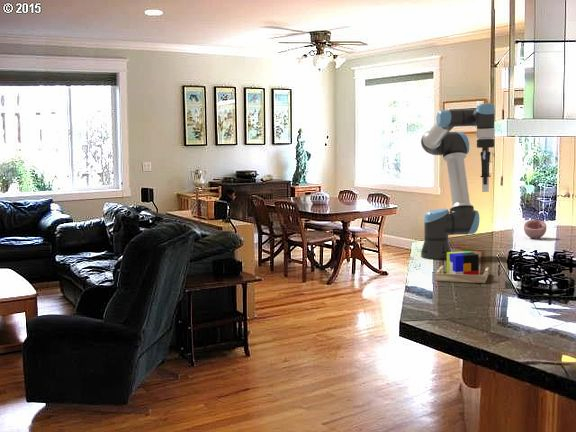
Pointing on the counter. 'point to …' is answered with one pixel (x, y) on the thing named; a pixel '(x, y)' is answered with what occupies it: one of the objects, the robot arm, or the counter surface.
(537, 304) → the counter surface
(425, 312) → the counter surface
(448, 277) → the tray
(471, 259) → the puzzle toy
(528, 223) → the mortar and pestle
